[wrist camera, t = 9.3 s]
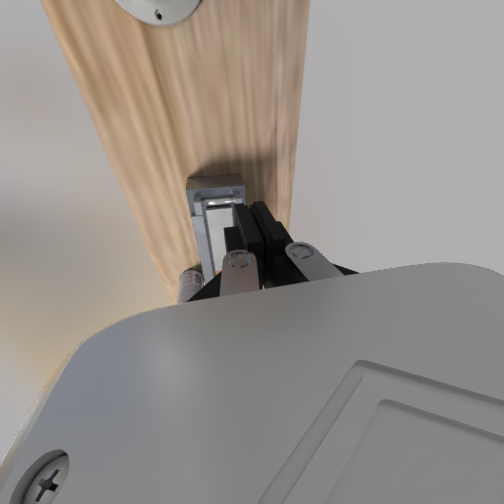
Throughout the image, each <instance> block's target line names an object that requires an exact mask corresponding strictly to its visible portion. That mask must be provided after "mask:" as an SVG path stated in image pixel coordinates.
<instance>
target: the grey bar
mask: <svg viewBox="0 0 504 504" xmlns="http://www.w3.org/2000/svg"><path fill="white" fill-rule="evenodd" d="M206 214H207V220H208V227H209V233H210V239H211V245H212V252H213V258H214V264H215V271H216V275H217V274H218V273H219V272H221V271H222V264H223V258H224V256H225V255H226V247H225V239H224V229H223V228H224V227H233V219H232V207H231V206H223V207H212V208H206Z"/></svg>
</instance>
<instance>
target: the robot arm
mask: <svg viewBox="0 0 504 504" xmlns="http://www.w3.org/2000/svg"><path fill="white" fill-rule="evenodd" d="M114 1H115V2H116V3H117V4H118V5H119V6H120V7H121V8H122V9H124V10H125V11H126V12H127V13H128V14H130V15H131V16H132V17H134V18H136V19H138V20H139V21H141V22H143V23H146V24H148V25H151V26H155V27H170V26H175V25H177V24H179V23H181V22H183V21H185V20H186V19H187V18H188V17H189V16H190V15H191V14H192V13H193V11H194V10H195V9H196V7H197V6H198V4H199V2H200V0H114ZM159 14H160V15H161V16H162V19H161V20H159V19H158V15H159ZM234 221H235V226H233V227H224V228H223V229H224V239H225V247H226V255H225V256H224V258H223V264H222V271H221V272H219V273H218V274H217V275H216V276H215V277H214V278H213V279H211V280H210V281H209V282H208V283H207V284H206V285H205V286H204V287H202V288H201V289H200V290H199V291H198V292H197V293H196V294H194V295H193V296H192V297H191V298H190V299H189V300H188V301H187V302H186V303H181V304H176V305H171V306H166V307H162V308H156V309H153V310H149V311H146V312H141V313H138V314H136V315H132V316H130V317H127V318H124V319H121V320H119V321H117V322H115V323H113V324H111V325H109V326H106V327H104V328H102V329H100V330H99V331H97V332H95V333H93V334H92V335H90V336H89V337H87V338H85V339H84V340H83V341H82V342H80V343H79V344H78V345H76V346H75V347H74V348H73V349H72V350H71V351H70V352H69V353H68V354H67V355H66V357H65V358H64V359H63V360H62V361H61V363H60V364H59V365H58V367H57V368H56V369H55V371H54V372H53V374H52V376H51V377H50V378H49V380H48V381H47V383H46V384H45V386H44V387H43V389H42V391H41V392H40V394H39V396H38V397H37V399H36V401H35V402H34V404H33V406H32V407H31V409H30V411H29V412H28V414H27V416H26V418H25V420H24V421H23V423H22V425H21V427H20V429H19V431H18V432H17V434H16V436H15V438H14V440H13V441H12V443H11V445H10V447H9V449H8V451H7V453H6V454H5V456H4V458H3V460H2V461H1V463H0V504H504V276H503V275H501V274H499V273H497V272H495V271H493V270H490V269H487V268H484V267H480V266H475V265H470V264H462V263H444V262H442V263H426V264H418V265H410V266H403V267H396V268H390V269H384V270H378V271H371V272H365V273H358V272H355V271H352V270H350V269H347V268H344V267H341V266H338V265H335V264H332V263H331V262H329V261H328V260H327V259H326V258H325V257H324V256H323V255H322V254H321V253H320V252H319V251H318V250H317V249H316V248H315V247H313V246H312V245H310V244H308V243H304V242H294V241H293V240H292V239H291V237H290V235H289V234H288V232H287V231H286V229H285V228H284V226H283V225H282V223H281V222H280V221H277V222H276V221H275V219H274V217H273V216H272V214H271V213H270V211H269V210H268V208H267V206H266V205H265V203H264V202H263V201H258V202H253V205H250V210H249V208H248V205H244V203H237V204H234ZM263 285H264V288H265V289H263Z"/></svg>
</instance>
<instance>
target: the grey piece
mask: <svg viewBox="0 0 504 504" xmlns="http://www.w3.org/2000/svg"><path fill="white" fill-rule="evenodd" d="M186 194H187V199H188V203H189V208H190V213H191V218H192V222H193V227H194V232H195V237H196V242H197V246H198V251H199V256H200V261H201V265H202V270H203V275H204V280H205V285H206V284H207V283H208V282H209V281H210V280H211V279H213V278H214V277H215V276H216V271H215V264H214V258H213V252H212V245H211V239H210V233H209V227H208V220H207V214H206V208H212V207H223V206H231V207H232V219H233V226H235V221H234V204H237V203H244V205H246V192H245V184H244V182H243V180H242V178H241V176H240V175H239V174H234V175H220V176H206V177H193V178H187V185H186Z"/></svg>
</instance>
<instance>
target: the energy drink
mask: <svg viewBox="0 0 504 504" xmlns="http://www.w3.org/2000/svg"><path fill="white" fill-rule="evenodd" d="M202 287H204V284H203V275H202V274H201V273H200V272H198V271H195V270H188V271H185V272H184V273H182V274H181V276H180V279H179V289H178V299H177V304H181V303H186V302H187V301H188V300H189V299H190V298H191V297H192V296H193V295H194V294H196V293H197V292H198V291H199V290H200V289H201V288H202Z"/></svg>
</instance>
